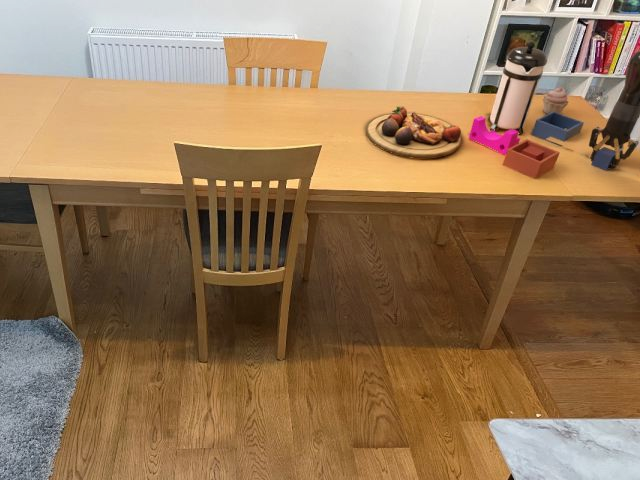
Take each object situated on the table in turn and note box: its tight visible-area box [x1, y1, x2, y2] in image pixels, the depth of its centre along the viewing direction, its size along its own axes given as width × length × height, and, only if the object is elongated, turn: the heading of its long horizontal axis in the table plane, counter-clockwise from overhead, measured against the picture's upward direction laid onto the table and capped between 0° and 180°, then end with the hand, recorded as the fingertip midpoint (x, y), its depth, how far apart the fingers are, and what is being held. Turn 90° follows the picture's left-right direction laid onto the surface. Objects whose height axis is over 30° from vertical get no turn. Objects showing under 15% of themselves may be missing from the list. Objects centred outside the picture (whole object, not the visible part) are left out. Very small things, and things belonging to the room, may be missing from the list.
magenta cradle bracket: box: [468, 115, 521, 156], centre depth 199 cm, size 15×6×8 cm, turn 37°
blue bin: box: [530, 112, 585, 147], centre depth 206 cm, size 12×12×6 cm
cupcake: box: [542, 86, 570, 115], centre depth 220 cm, size 9×9×10 cm
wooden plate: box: [366, 106, 462, 159], centre depth 201 cm, size 32×32×8 cm
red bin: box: [502, 138, 561, 180], centre depth 188 cm, size 12×12×6 cm
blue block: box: [591, 146, 615, 171], centre depth 190 cm, size 5×5×5 cm
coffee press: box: [488, 41, 548, 136], centre depth 204 cm, size 17×16×30 cm
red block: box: [521, 146, 545, 161], centre depth 188 cm, size 5×5×5 cm
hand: (602, 164), depth 191 cm, fingers open, 5 cm apart
